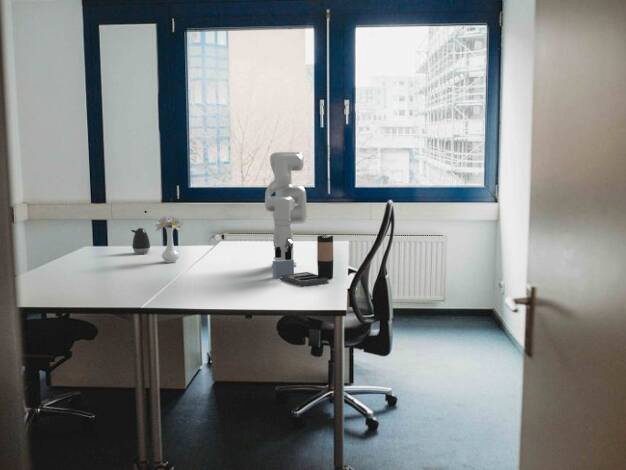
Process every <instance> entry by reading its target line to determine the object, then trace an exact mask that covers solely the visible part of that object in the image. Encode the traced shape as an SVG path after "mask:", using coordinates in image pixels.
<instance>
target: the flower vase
mask: <svg viewBox="0 0 626 470" xmlns="http://www.w3.org/2000/svg"><path fill="white" fill-rule="evenodd" d="M182 225H183V222H182V221H180V220H179V218H178V217H177V216H169V217H168V218H167V217H166V216H163V217H158V222H156V223H155V227H157V228H156V230H155V231H156V232H158V231H161V230H162V229H163V228H165V230H166V236H167V237H166V239H167V241H166V248H165V250H164V251H163V252H162V254H161V258H162V259H163V260H164V262H165V263H167V264H169V263H171V264H173V263H177V260H178V259H179V258H180V253H179V252H178V250H177V249H176V248H175V246H174V237H173V236H174V230H176V231H177V232H180V231H181V228H182V227H181V226H182Z"/></svg>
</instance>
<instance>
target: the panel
mask: <svg viewBox="0 0 626 470" xmlns="http://www.w3.org/2000/svg"><path fill="white" fill-rule="evenodd" d="M294 262H295V261H294V258H293V259H291V260H277V261H275V260H272V264H273V265H272V278H274V279H279V278H280V277H282V275H287V274H295V266H294ZM280 279H281V278H280Z"/></svg>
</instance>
